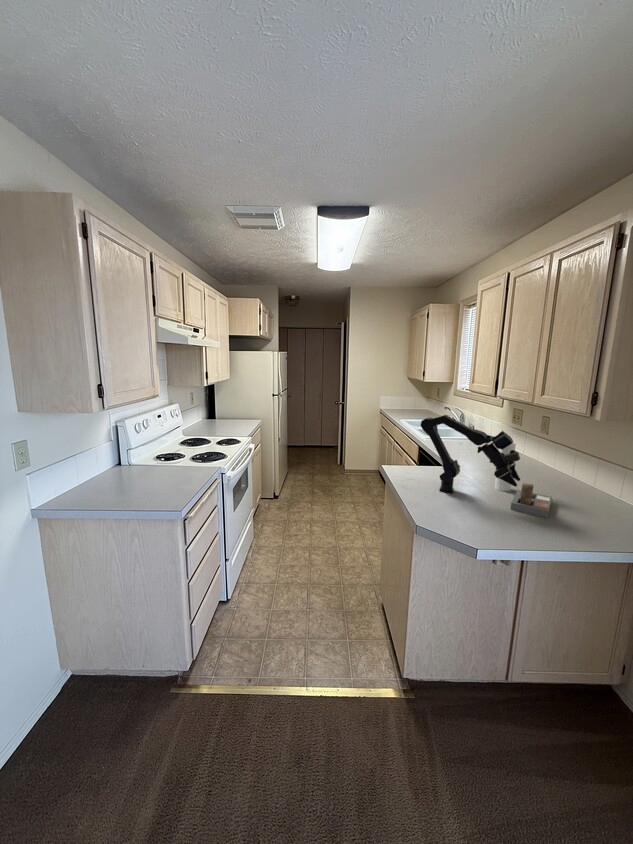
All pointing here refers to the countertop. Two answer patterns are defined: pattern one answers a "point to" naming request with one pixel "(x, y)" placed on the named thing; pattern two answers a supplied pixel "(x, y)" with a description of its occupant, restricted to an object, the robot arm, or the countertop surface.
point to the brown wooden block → (526, 494)
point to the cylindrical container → (500, 483)
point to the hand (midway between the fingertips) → (518, 483)
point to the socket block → (532, 504)
